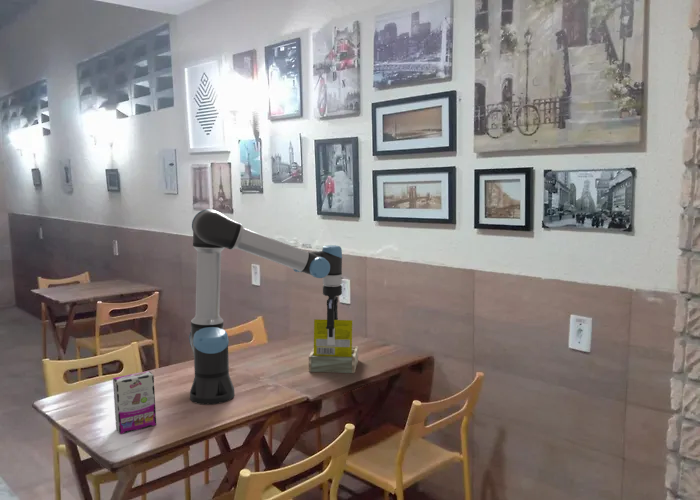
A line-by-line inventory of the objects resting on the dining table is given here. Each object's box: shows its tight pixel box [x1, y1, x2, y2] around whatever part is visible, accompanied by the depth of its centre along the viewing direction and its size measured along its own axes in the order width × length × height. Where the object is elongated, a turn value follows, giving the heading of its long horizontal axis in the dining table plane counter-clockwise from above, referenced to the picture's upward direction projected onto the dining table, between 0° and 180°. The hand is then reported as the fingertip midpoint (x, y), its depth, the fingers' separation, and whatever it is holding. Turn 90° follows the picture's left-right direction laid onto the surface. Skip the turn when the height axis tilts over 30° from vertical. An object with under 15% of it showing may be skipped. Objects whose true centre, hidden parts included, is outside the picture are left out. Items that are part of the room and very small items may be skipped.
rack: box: [308, 345, 359, 374], centre depth 240 cm, size 16×18×6 cm
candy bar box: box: [112, 370, 157, 435], centre depth 180 cm, size 11×5×16 cm, turn 126°
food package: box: [313, 318, 353, 357], centre depth 235 cm, size 15×1×20 cm, turn 85°
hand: (332, 341), depth 233 cm, fingers open, 7 cm apart
